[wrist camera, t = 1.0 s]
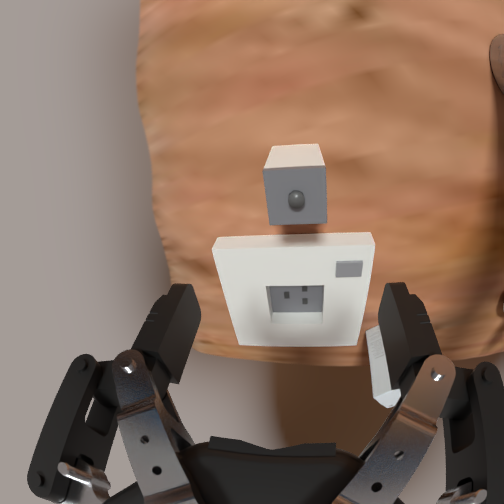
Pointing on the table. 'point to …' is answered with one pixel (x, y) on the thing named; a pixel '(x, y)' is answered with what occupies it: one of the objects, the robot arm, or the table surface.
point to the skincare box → (380, 370)
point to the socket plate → (296, 287)
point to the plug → (295, 185)
